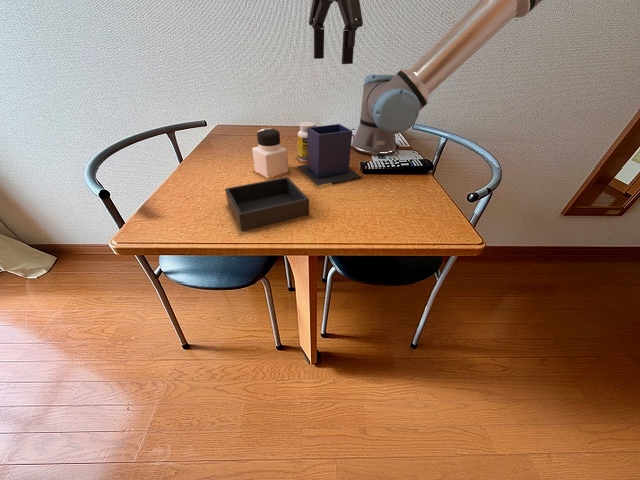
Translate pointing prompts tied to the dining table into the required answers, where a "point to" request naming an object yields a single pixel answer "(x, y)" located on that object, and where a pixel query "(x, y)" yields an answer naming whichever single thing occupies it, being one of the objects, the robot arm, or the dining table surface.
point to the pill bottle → (303, 140)
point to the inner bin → (328, 150)
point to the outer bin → (266, 203)
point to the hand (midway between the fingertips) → (332, 61)
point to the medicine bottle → (269, 154)
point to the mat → (331, 179)
